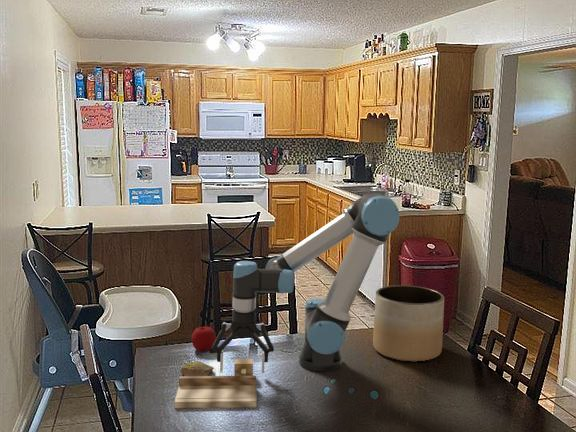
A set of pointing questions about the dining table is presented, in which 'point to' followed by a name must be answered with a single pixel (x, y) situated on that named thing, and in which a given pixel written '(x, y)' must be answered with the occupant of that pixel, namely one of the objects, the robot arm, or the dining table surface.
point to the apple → (203, 338)
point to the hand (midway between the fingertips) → (242, 371)
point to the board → (216, 392)
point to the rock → (196, 369)
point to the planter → (408, 322)
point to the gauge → (243, 367)
